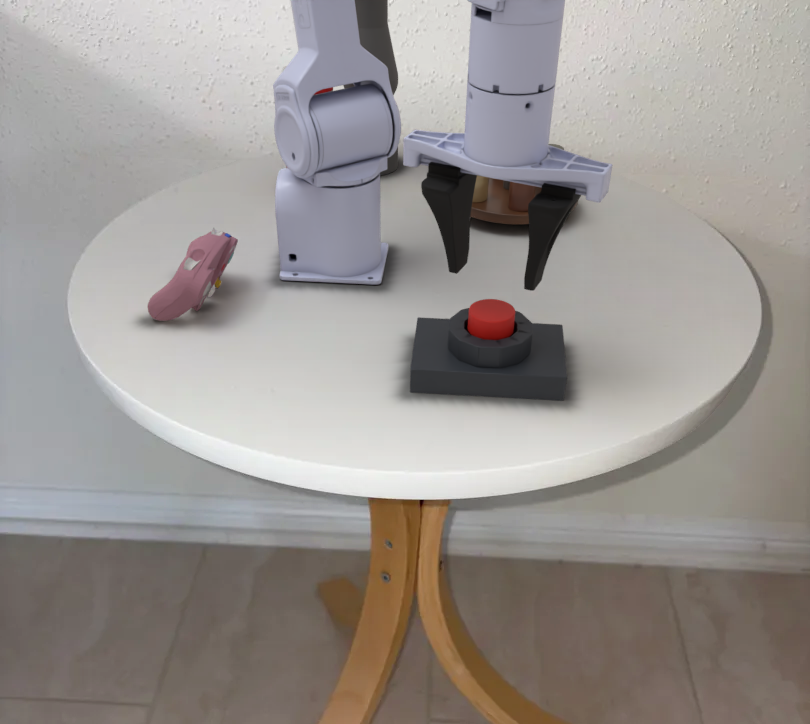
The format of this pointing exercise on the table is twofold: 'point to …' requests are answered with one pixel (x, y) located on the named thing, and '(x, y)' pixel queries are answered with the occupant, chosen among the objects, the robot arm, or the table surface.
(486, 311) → the timer button
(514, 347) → the timer block
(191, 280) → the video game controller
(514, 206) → the spice carousel
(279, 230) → the robot arm
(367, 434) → the table surface
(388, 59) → the candle holder
